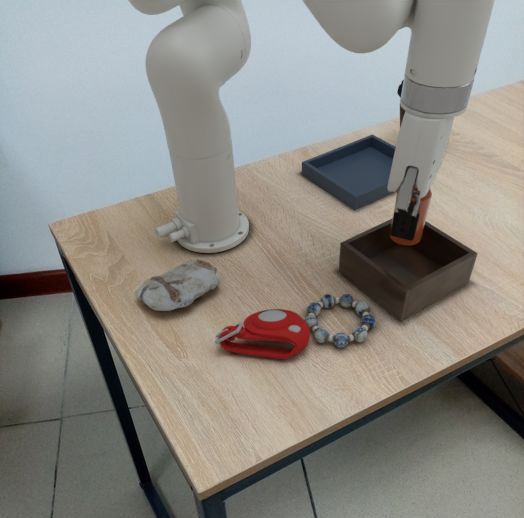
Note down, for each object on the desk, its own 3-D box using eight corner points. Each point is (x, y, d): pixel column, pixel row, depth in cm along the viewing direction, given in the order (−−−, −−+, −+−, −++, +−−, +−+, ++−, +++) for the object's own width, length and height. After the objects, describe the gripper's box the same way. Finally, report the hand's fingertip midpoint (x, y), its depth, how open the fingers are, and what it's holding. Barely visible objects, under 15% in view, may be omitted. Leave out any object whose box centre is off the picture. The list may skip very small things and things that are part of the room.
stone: (166, 329, 75) (161, 312, 73) (130, 299, 80) (124, 282, 77) (229, 288, 80) (227, 271, 78) (192, 262, 85) (189, 245, 82)
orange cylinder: (405, 249, 73) (414, 205, 68) (383, 234, 75) (390, 190, 70) (428, 238, 74) (439, 194, 69) (405, 223, 77) (414, 179, 72)
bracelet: (317, 357, 70) (318, 346, 69) (293, 309, 76) (293, 299, 75) (385, 339, 72) (387, 328, 70) (356, 293, 78) (357, 283, 76)
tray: (354, 209, 93) (355, 197, 91) (301, 174, 102) (301, 161, 100) (427, 177, 99) (429, 164, 97) (371, 146, 108) (372, 134, 106)
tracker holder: (270, 296, 77) (324, 314, 70) (272, 324, 79) (324, 344, 72) (206, 325, 69) (259, 348, 63) (209, 354, 72) (261, 379, 65)
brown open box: (400, 321, 74) (406, 291, 70) (338, 271, 82) (340, 242, 78) (468, 283, 78) (477, 253, 74) (403, 239, 86) (408, 210, 82)
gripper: (422, 60, 66) (398, 190, 80) (380, 116, 56) (361, 254, 70) (484, 69, 64) (448, 201, 77) (451, 129, 54) (417, 269, 67)
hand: (407, 225), depth 73 cm, fingers closed on orange cylinder, 4 cm apart
